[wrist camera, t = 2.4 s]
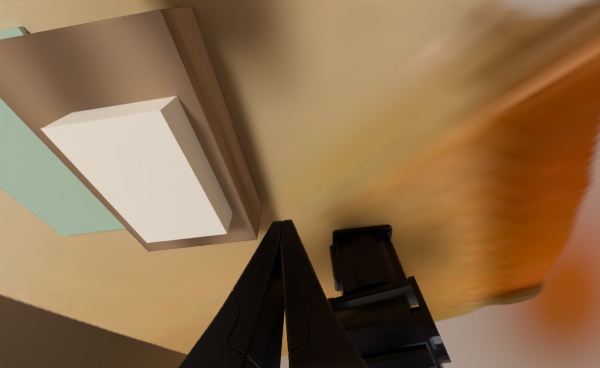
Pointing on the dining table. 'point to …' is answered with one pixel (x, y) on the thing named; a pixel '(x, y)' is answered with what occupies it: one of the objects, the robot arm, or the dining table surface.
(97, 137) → the white block
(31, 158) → the mat
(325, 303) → the robot arm
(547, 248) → the dining table surface
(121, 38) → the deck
